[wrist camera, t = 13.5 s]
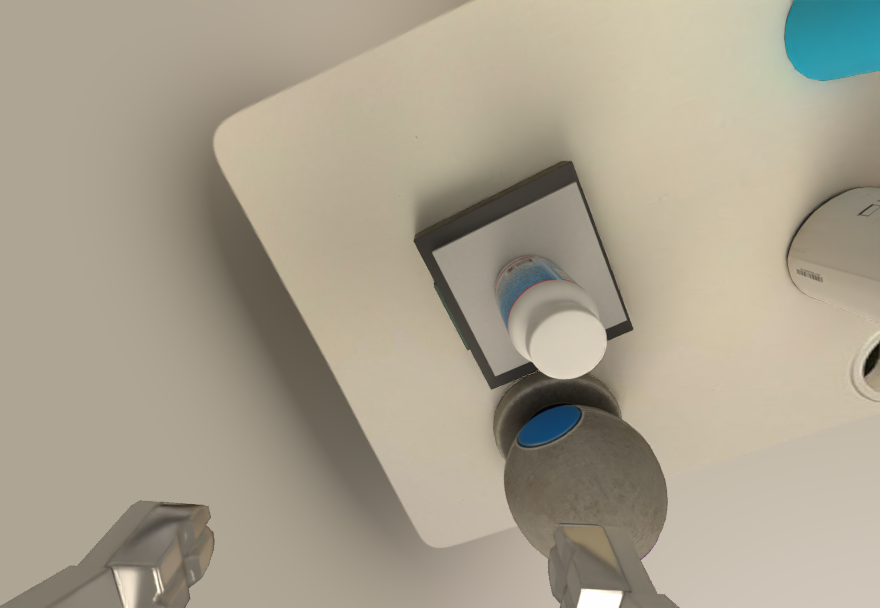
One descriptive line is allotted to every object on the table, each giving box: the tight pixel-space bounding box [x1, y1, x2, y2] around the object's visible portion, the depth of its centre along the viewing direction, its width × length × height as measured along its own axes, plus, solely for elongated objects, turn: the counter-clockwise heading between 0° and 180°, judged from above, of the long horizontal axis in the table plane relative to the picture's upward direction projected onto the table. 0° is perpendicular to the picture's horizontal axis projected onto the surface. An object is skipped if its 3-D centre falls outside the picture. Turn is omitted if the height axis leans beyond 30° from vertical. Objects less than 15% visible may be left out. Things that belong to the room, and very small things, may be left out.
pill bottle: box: [495, 255, 607, 379], centre depth 30 cm, size 6×6×11 cm
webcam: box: [493, 372, 668, 560], centre depth 36 cm, size 13×13×15 cm
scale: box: [414, 161, 633, 390], centre depth 36 cm, size 16×14×3 cm
